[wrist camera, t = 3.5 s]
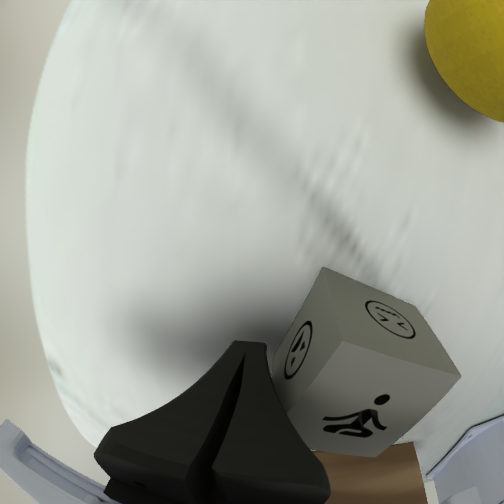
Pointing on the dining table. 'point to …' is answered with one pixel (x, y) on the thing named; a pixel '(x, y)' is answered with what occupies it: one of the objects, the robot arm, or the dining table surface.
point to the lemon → (469, 50)
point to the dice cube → (358, 368)
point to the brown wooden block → (375, 477)
